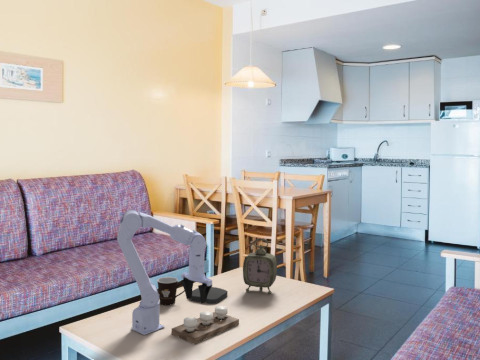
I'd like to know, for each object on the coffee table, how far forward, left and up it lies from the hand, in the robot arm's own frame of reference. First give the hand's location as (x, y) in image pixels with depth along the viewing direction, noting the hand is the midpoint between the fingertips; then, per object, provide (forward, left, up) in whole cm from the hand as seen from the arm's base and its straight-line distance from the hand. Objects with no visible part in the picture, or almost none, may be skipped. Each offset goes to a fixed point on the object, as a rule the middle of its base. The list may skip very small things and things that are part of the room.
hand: (196, 300), depth 169 cm
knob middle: (-1, -7, -7) cm, 10 cm away
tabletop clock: (+47, +5, -9) cm, 48 cm away
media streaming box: (+25, +17, -10) cm, 32 cm away
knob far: (+7, -6, -7) cm, 12 cm away
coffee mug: (+8, +23, -9) cm, 26 cm away
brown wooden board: (-1, -7, -9) cm, 11 cm away
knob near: (-9, -7, -7) cm, 13 cm away
